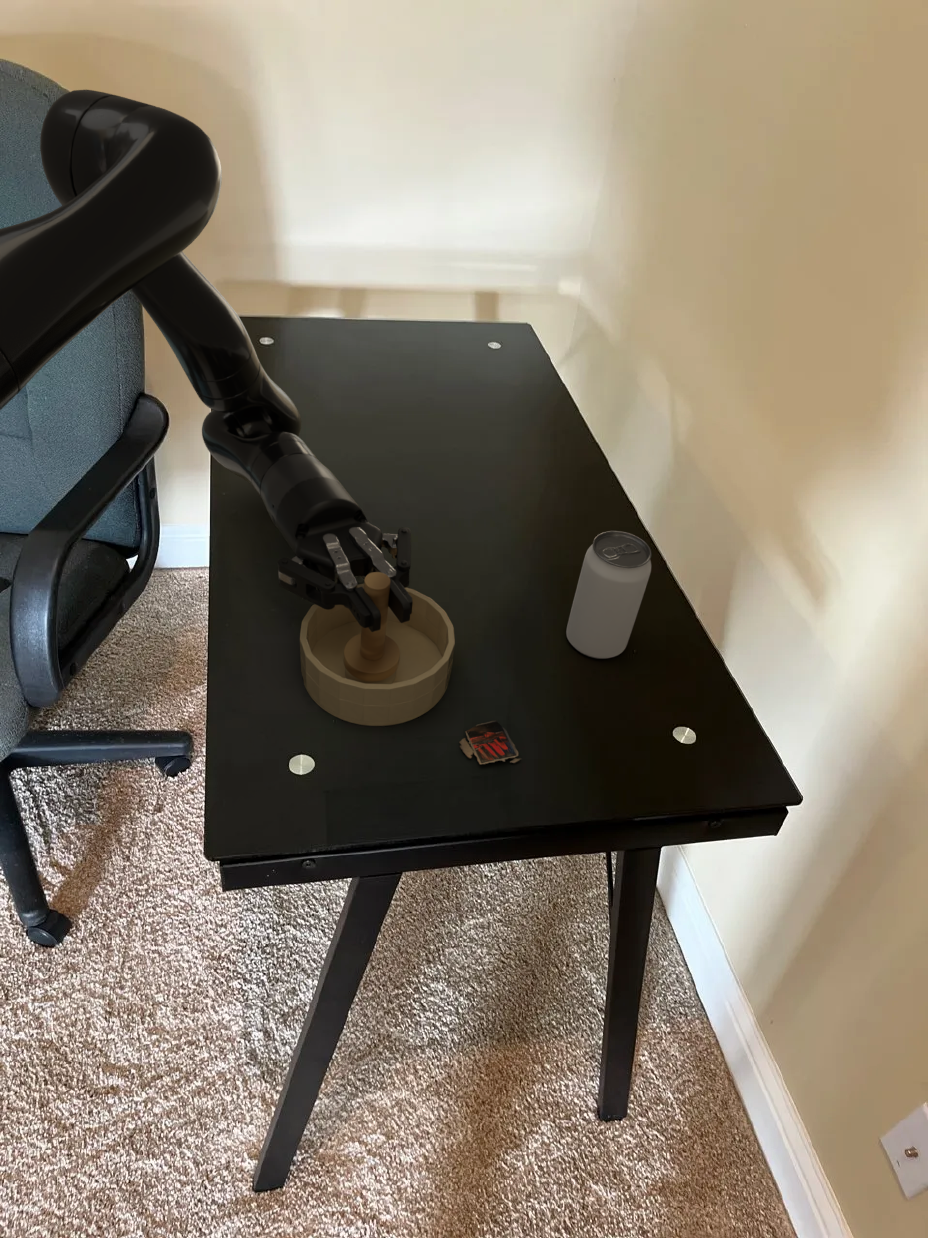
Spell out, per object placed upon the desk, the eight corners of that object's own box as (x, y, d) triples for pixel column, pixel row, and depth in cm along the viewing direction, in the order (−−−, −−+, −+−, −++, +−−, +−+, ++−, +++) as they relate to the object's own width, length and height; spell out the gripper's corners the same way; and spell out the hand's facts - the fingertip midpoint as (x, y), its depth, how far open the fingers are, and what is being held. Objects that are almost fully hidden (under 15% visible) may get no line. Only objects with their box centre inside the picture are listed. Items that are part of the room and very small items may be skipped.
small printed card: (493, 718, 77) (494, 715, 76) (527, 757, 74) (528, 753, 73) (451, 738, 74) (452, 735, 74) (484, 778, 71) (485, 775, 71)
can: (554, 625, 87) (576, 534, 79) (605, 613, 90) (632, 523, 82) (584, 667, 83) (611, 575, 75) (638, 653, 85) (669, 562, 77)
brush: (334, 685, 77) (337, 591, 68) (353, 647, 81) (358, 553, 72) (387, 700, 76) (397, 608, 68) (404, 661, 80) (415, 569, 72)
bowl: (277, 703, 76) (274, 664, 72) (334, 606, 86) (333, 569, 83) (426, 743, 74) (430, 705, 70) (465, 639, 84) (470, 603, 81)
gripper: (238, 491, 75) (314, 608, 64) (377, 461, 81) (467, 564, 70) (245, 556, 80) (316, 675, 69) (374, 524, 86) (458, 628, 75)
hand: (391, 618), depth 70 cm, fingers closed on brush
